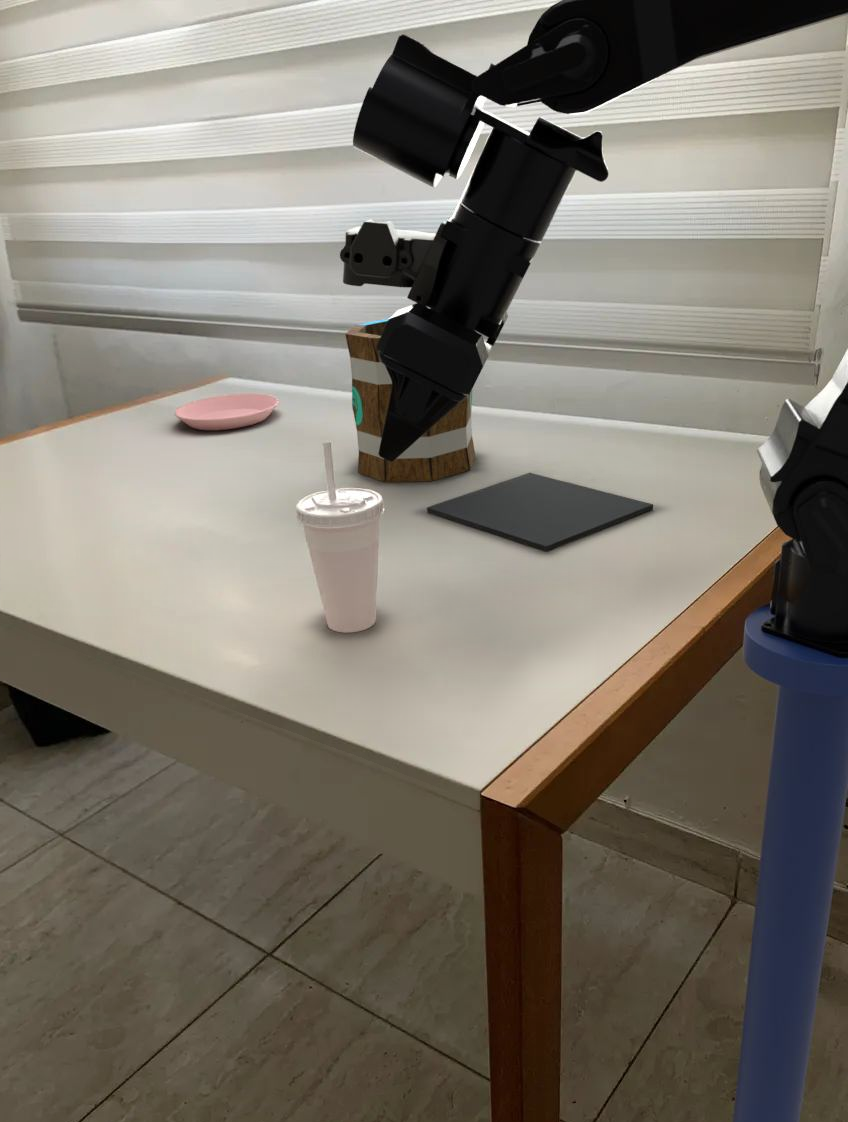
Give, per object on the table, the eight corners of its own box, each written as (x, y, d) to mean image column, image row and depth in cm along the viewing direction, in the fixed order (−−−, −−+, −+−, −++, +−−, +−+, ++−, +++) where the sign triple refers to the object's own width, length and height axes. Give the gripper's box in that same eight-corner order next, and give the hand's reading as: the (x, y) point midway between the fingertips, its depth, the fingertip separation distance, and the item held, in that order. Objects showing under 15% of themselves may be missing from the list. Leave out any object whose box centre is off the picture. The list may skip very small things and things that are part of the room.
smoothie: (338, 599, 82) (320, 428, 76) (408, 611, 79) (395, 433, 72) (293, 632, 77) (269, 451, 71) (365, 646, 74) (347, 458, 68)
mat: (653, 509, 94) (653, 504, 94) (546, 551, 87) (546, 546, 87) (529, 477, 106) (529, 472, 106) (426, 512, 99) (426, 507, 99)
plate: (196, 440, 132) (194, 425, 131) (163, 420, 144) (161, 406, 143) (296, 419, 137) (295, 405, 136) (257, 402, 149) (255, 388, 148)
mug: (493, 472, 109) (488, 327, 102) (369, 489, 107) (356, 343, 100) (445, 429, 126) (439, 303, 120) (338, 444, 124) (326, 317, 118)
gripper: (410, 158, 72) (326, 360, 79) (352, 169, 55) (254, 422, 63) (551, 230, 72) (454, 424, 80) (535, 262, 56) (415, 503, 63)
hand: (397, 439), depth 71 cm, fingers open, 9 cm apart
